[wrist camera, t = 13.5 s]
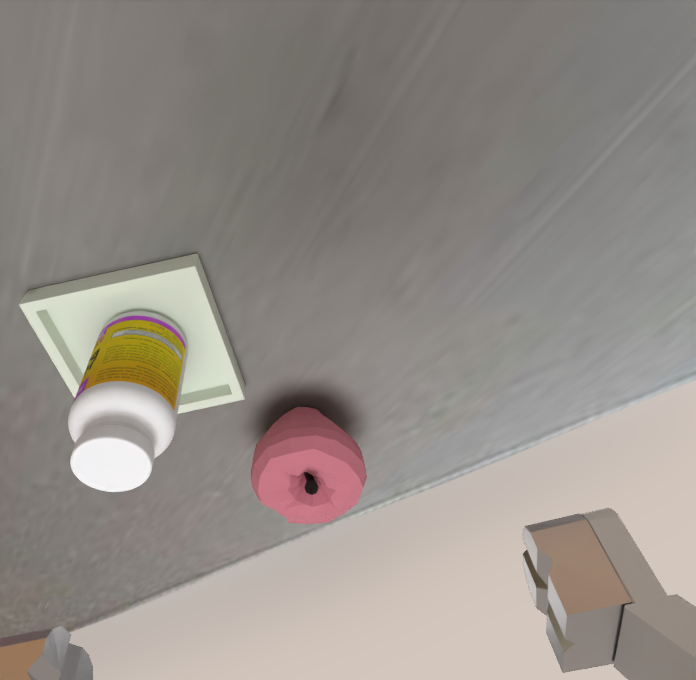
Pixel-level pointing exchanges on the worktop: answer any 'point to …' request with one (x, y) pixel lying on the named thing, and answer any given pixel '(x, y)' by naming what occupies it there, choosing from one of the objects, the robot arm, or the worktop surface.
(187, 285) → the tray
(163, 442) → the supplement bottle
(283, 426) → the apple
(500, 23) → the worktop surface
